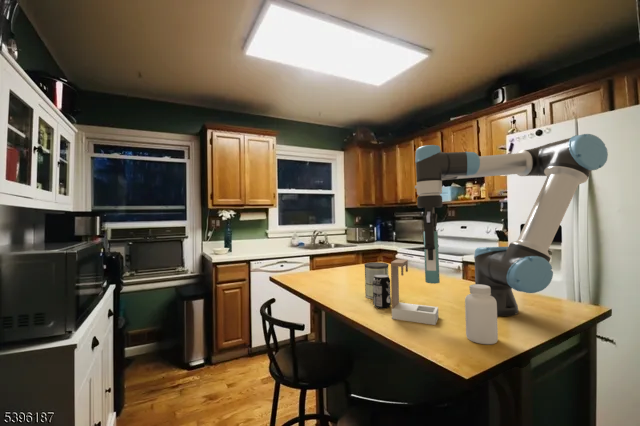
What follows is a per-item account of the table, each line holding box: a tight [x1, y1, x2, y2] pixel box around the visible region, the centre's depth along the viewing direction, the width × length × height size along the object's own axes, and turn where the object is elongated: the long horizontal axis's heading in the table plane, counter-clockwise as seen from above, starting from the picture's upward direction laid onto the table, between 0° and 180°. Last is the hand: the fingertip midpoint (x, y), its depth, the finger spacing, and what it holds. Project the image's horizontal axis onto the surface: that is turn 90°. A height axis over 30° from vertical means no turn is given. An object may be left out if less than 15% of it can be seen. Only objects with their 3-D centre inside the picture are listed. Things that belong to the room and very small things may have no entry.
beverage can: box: [372, 274, 392, 310], centre depth 117 cm, size 7×7×12 cm
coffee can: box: [364, 261, 389, 300], centre depth 132 cm, size 10×10×14 cm
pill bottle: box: [464, 283, 499, 345], centre depth 86 cm, size 8×8×15 cm
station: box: [390, 258, 439, 326], centre depth 104 cm, size 14×8×19 cm, turn 62°
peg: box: [423, 230, 441, 285], centre depth 96 cm, size 4×4×16 cm
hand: (432, 268), depth 96 cm, fingers closed on peg, 4 cm apart
